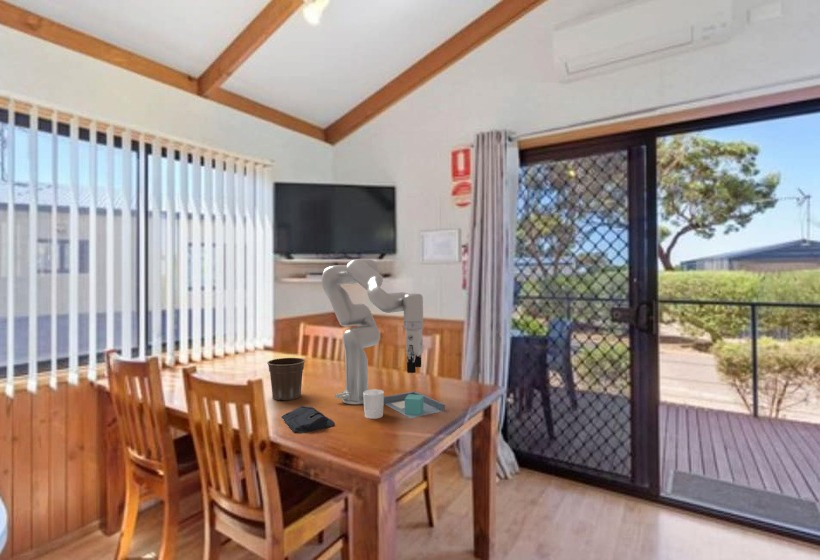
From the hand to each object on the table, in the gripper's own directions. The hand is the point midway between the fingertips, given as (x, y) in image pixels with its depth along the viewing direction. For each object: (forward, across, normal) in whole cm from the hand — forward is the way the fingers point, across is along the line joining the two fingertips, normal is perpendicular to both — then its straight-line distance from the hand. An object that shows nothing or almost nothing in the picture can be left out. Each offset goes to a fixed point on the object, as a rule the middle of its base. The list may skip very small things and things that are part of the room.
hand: (414, 369), depth 173 cm
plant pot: (+17, +12, +61) cm, 65 cm away
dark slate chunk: (+18, -16, +38) cm, 45 cm away
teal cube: (+17, 0, 0) cm, 17 cm away
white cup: (+18, -7, +14) cm, 24 cm away
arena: (+18, +6, +2) cm, 19 cm away
